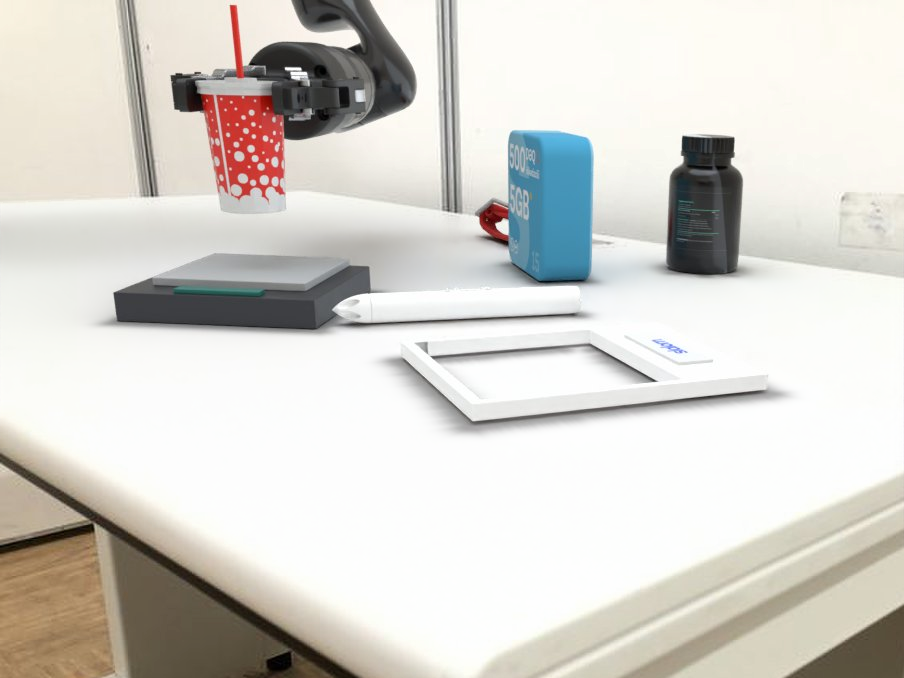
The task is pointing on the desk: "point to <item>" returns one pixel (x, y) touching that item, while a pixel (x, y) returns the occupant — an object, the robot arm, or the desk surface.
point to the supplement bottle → (704, 207)
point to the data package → (550, 204)
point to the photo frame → (639, 345)
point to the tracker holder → (493, 217)
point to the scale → (245, 291)
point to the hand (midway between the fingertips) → (229, 97)
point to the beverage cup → (244, 139)
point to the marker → (460, 304)
